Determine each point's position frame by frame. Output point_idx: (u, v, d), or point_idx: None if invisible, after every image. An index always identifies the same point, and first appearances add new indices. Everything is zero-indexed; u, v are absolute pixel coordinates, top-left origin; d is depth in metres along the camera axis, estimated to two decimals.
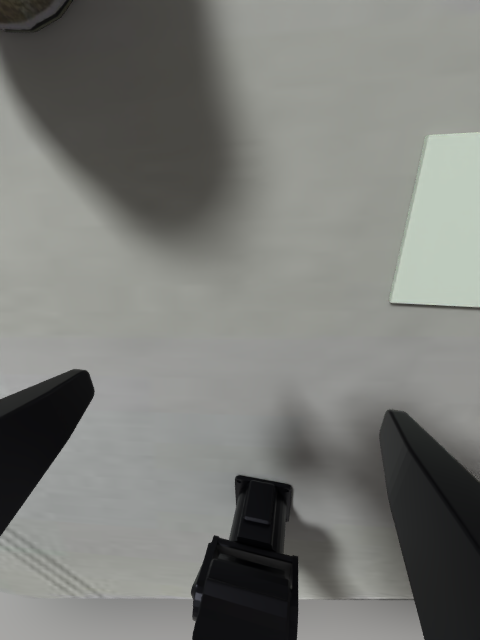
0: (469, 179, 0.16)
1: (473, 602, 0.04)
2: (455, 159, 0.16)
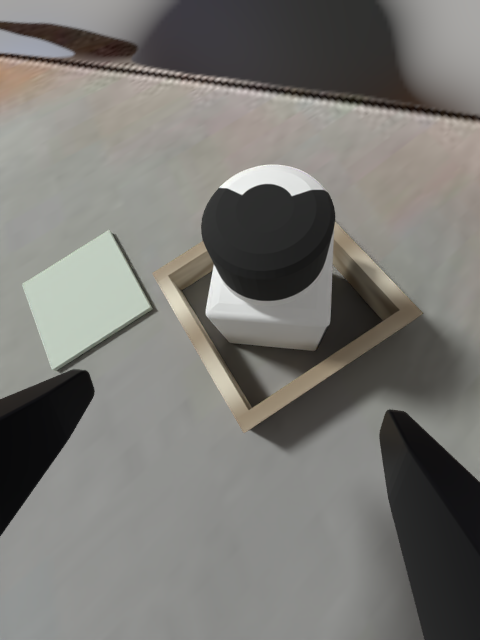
0: (51, 286, 0.27)
1: (473, 602, 0.04)
2: (39, 284, 0.27)
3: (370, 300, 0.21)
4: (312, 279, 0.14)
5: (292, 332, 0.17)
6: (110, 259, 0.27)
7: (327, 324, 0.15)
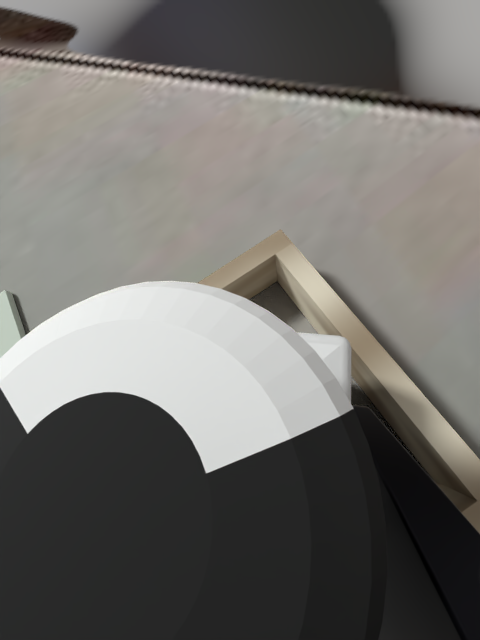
0: None
1: (407, 586, 0.04)
2: None
3: (408, 441, 0.12)
4: None
5: None
6: (0, 338, 0.17)
7: None
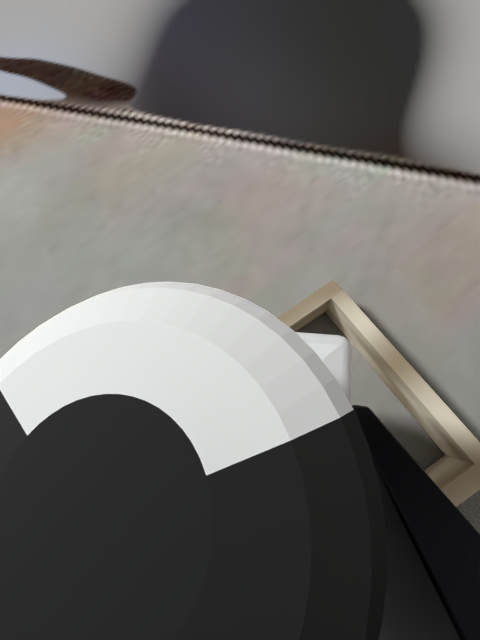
0: None
1: (407, 586, 0.04)
2: None
3: (427, 428, 0.18)
4: None
5: None
6: None
7: None
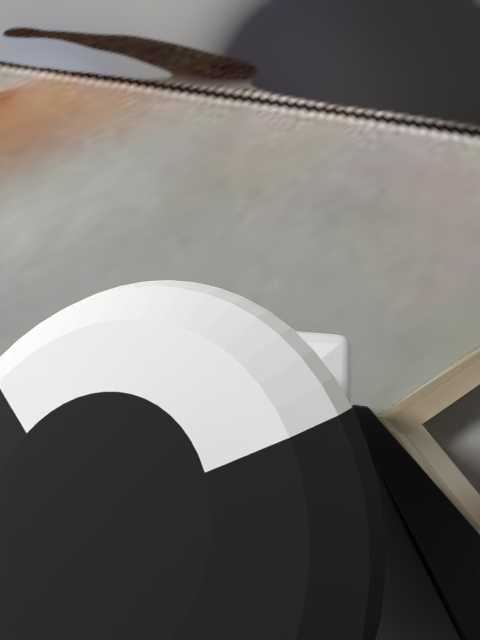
0: None
1: (406, 586, 0.04)
2: None
3: None
4: None
5: None
6: None
7: None
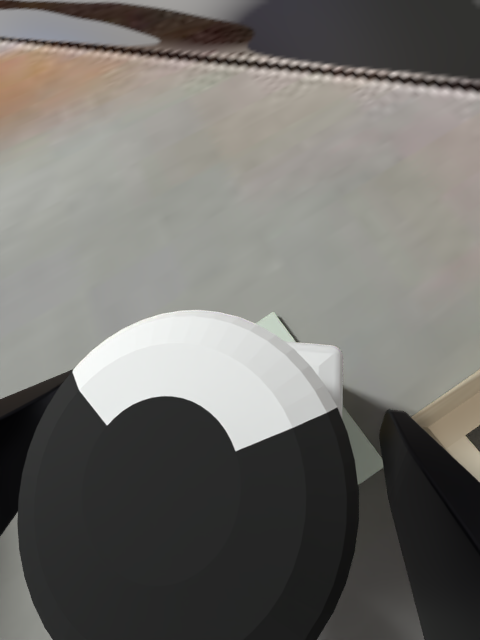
0: None
1: (473, 602, 0.04)
2: None
3: None
4: None
5: None
6: None
7: None
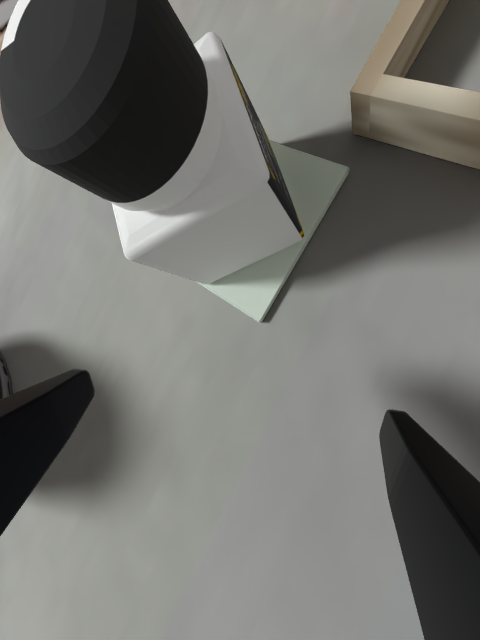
0: None
1: (473, 602, 0.04)
2: None
3: None
4: (195, 114, 0.09)
5: (241, 222, 0.12)
6: None
7: (265, 177, 0.10)
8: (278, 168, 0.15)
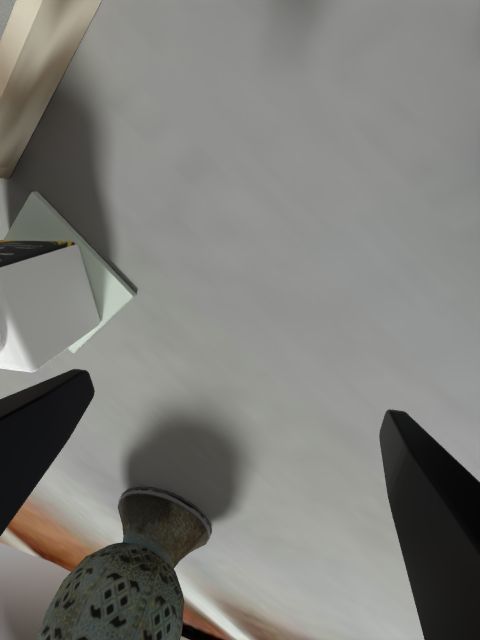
0: None
1: (473, 602, 0.04)
2: None
3: None
4: None
5: (29, 290, 0.17)
6: None
7: None
8: (18, 244, 0.20)
